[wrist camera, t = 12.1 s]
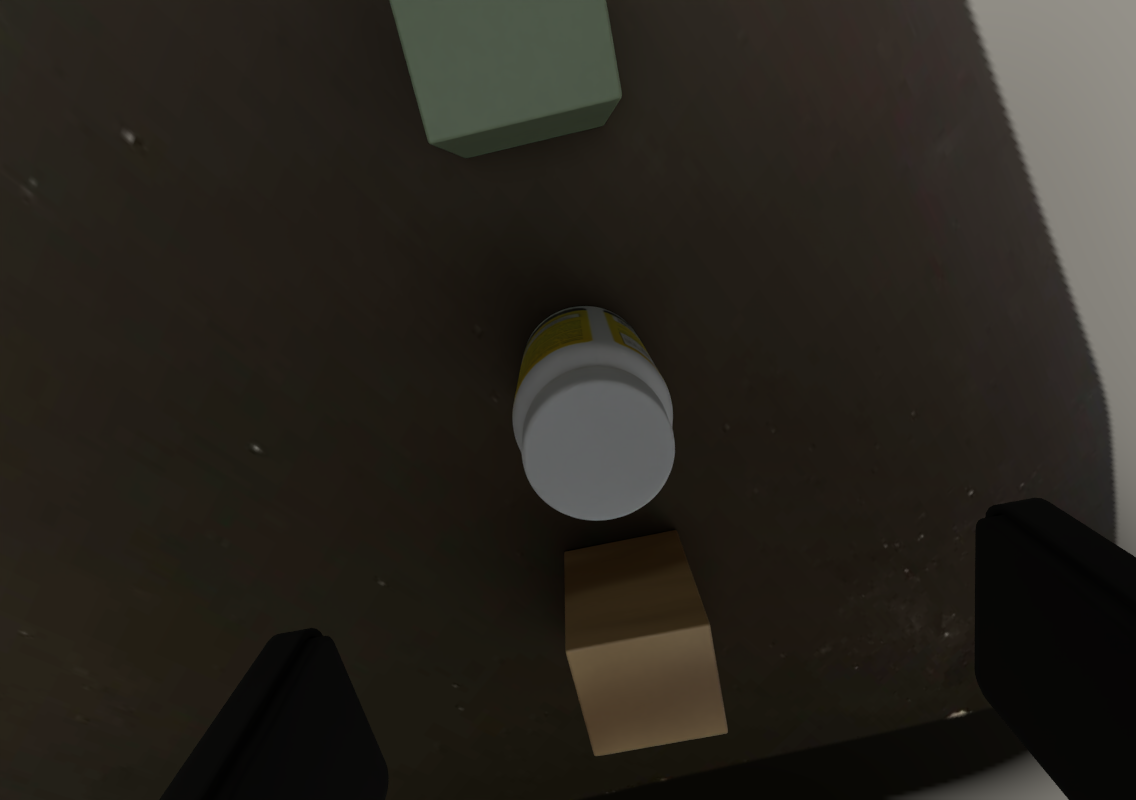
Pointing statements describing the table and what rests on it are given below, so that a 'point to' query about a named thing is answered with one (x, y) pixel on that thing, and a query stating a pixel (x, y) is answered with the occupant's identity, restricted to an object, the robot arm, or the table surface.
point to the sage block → (508, 69)
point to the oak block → (640, 645)
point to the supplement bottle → (592, 416)
